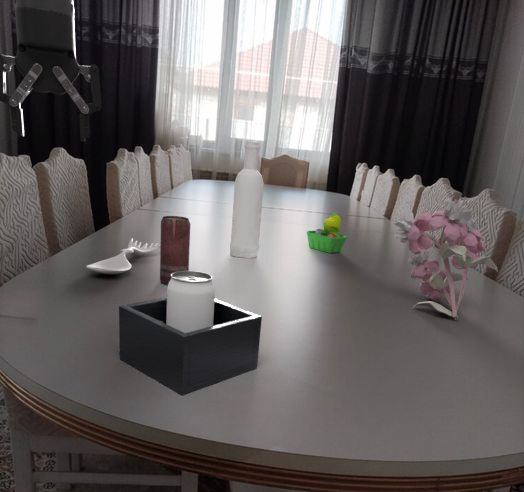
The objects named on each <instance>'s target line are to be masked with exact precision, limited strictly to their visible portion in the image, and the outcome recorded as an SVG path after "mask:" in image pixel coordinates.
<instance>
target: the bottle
mask: <svg viewBox="0 0 524 492" xmlns="http://www.w3.org/2000/svg"><path fill="white" fill-rule="evenodd" d="M260 149H261V146H260V141H258V140H249V139H246V140H245V144H244V158H243V168H242V169H241V170H240V171H239V172H238V173H237V175H236V177H235V179H234V186H233V187H234V188H233V189H234V190H233V202H232V203H233V205H232V216H231V217H232V218H231V234H230V243H229V254H230V256H233V257H235V258H241V259H254V258H257V257H258V255H259V254H258V253H259V247H260V244H259V243H260V231H261V222H262V210H263V199H264V187H265V184H264V177H263V175H262V174H261V173H260V171H259V170H258V167H259V165H258V164H259V153H260Z"/></svg>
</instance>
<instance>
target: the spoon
mask: <svg viewBox="0 0 524 492" xmlns="http://www.w3.org/2000/svg"><path fill="white" fill-rule="evenodd" d="M141 245H142V241H140V242H138V240H135V241H134V238H133V237H131V239H129V242H128V245H127V248H123V249H122V248H121V250H120V253H119V254H117V255H115V256H112V257H109V258H107V259H103V260H99V261H97V262H94V263H90V264H87V265H86V267H85V268H87V269H88V270H90V271H92V272H94V273H97V274H102V275H118V274H119V275H120V274H123V273H125V272H128V271H129V270H130V269H131V268H132V264H131V263H130V262H129V260H128V258H127V257H126V255H130V254H135V255H147V254H151V253H153V252H154V251H157V249H159V248H160V246H161V241H160V242H159V243H158V242H156V243H153V242H152V243H150V245H149V246H148V243H147V242H146V243H144V244H143V245H142V246H141Z"/></svg>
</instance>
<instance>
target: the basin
mask: <svg viewBox="0 0 524 492" xmlns="http://www.w3.org/2000/svg"><path fill="white" fill-rule="evenodd" d="M166 320H167V296H166V297H160V298H156V299H151V300H149V299H148V300H144V301H139V302H133V303H128V304H122V305H118V332H119V333H118V335H119V336H118V337H119V360H120V361H122V362H124V363H125V364H127V365H129V366H131V367H132V368H134V369H136V370H137V371H139V372H141V373H143V374H145V375H146V376H148V377H150V378H151V379H153V380H155V381H156V382H158V383H160V384H161V385H163V386H165V387H167V388H168V389H170V390H172V391H174V392H175V393H177V394H179V395H181V396H185V395H187V394H190V393H193V392H195V391H198V390H200V389H203V388H206V387H209V386H212V385H214V384H217V383H221V382H224V381H226V380H229V379H231V378H234V377H237V376H239V375H242V374H245V373H248V372H250V371H253V370H255V369H258V362H259V351H260V341H261V329H262V322H263V321H262V320H263V316H261V315H259V314H256V313H253V312H251V311H249V310H246V309H243V308H241V307H238V306H235V305H233V304H230V303H228V302H226V301H222V300H220V299H217V298H215V299H214V318H213V326H211V327H207V328H203V329H200V330H196V331H192V332H188V333H184V332H182V331H179V330H177V329H175V328H173V327H171V326H169V325H167V324H166Z"/></svg>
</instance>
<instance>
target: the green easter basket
mask: <svg viewBox="0 0 524 492" xmlns="http://www.w3.org/2000/svg"><path fill="white" fill-rule="evenodd" d="M340 216H341V215H340V214H339V213H336V212H333V213H332V214H331V215H330V216H329V217H328V218H326V219H325V220H324V221H323V229H322V228H317V229H316V230H306V231H305V233H306V235H307V241H308V248H309V249H314V250H317V251H320V252H324V253H328V254H335V253H341V251H342V249H343V247H344V245H345V242H346V240H347V239H348V236H347V235H343V234H340V233H339V232H340V230H341V223H342V219H341V217H340Z"/></svg>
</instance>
